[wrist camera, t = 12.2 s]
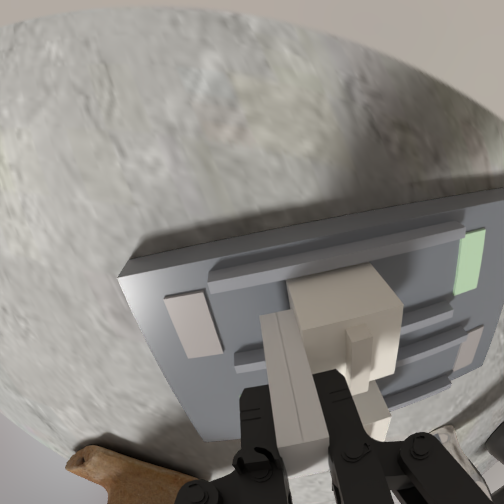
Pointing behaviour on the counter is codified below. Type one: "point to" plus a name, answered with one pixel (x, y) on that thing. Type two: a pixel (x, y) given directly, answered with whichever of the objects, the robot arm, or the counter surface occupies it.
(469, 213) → the switch board
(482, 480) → the beer glass
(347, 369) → the tab
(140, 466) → the clay platform pipe
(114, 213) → the counter surface
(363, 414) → the tab
